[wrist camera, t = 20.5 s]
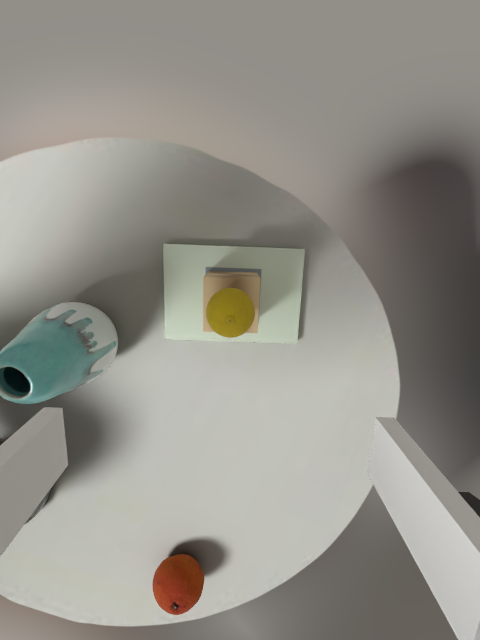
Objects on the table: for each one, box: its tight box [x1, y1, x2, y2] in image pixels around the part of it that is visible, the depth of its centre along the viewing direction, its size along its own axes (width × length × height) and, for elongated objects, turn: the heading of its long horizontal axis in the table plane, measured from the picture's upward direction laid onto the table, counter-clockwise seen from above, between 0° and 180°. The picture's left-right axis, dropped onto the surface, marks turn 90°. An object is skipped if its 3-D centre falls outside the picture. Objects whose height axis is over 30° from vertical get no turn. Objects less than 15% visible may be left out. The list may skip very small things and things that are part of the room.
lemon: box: [206, 288, 255, 338], centre depth 38 cm, size 6×6×8 cm
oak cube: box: [203, 271, 260, 333], centre depth 45 cm, size 7×7×7 cm
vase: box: [0, 302, 118, 404], centre depth 42 cm, size 12×12×18 cm
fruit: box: [153, 554, 204, 615], centre depth 58 cm, size 9×9×8 cm
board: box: [163, 244, 305, 344], centre depth 49 cm, size 20×14×1 cm
